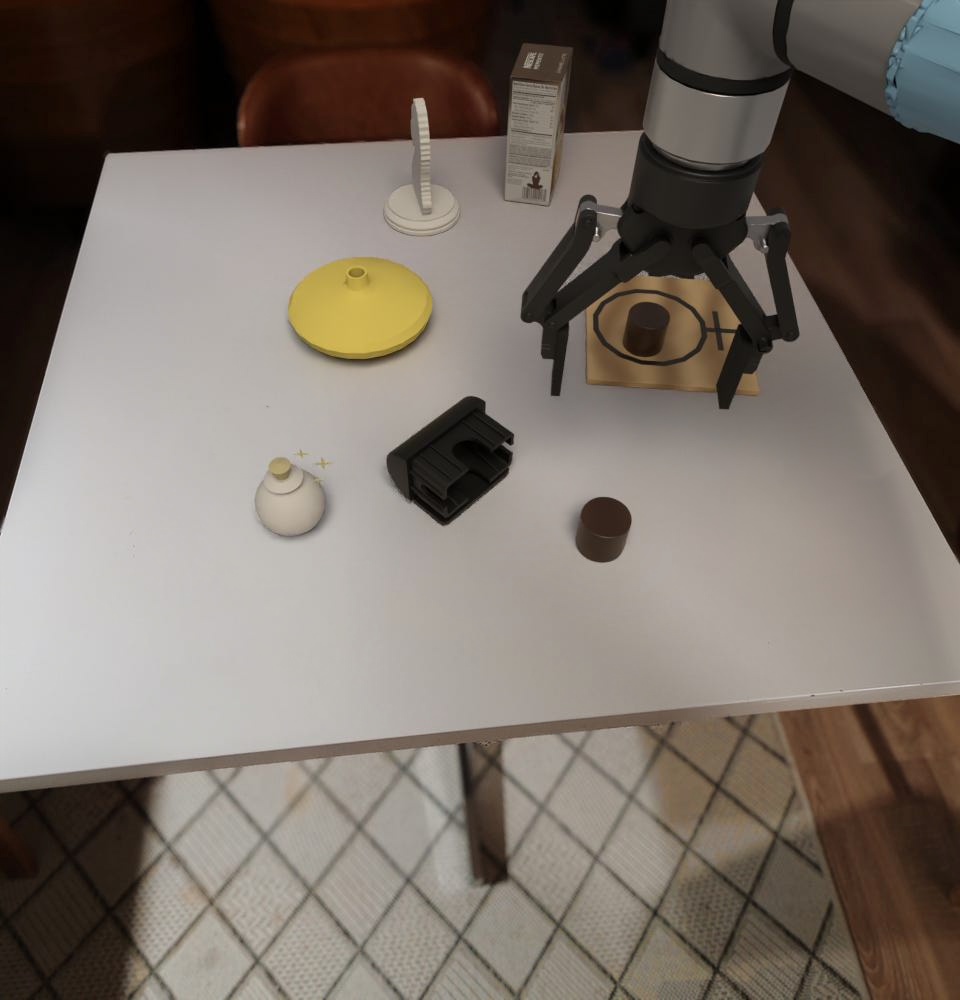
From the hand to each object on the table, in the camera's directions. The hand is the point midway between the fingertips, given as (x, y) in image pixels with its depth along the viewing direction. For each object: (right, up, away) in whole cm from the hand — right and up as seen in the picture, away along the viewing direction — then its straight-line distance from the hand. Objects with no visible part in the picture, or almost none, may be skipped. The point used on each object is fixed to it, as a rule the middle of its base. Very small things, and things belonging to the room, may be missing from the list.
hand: (638, 391), depth 63 cm
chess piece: (-21, +28, +36) cm, 50 cm away
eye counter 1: (-2, -13, +6) cm, 14 cm away
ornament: (-29, -11, +7) cm, 32 cm away
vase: (-26, +11, +23) cm, 37 cm away
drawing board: (+8, +10, +23) cm, 27 cm away
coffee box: (-6, +33, +41) cm, 53 cm away
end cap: (-16, -7, +11) cm, 20 cm away
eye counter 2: (+5, +8, +21) cm, 23 cm away
